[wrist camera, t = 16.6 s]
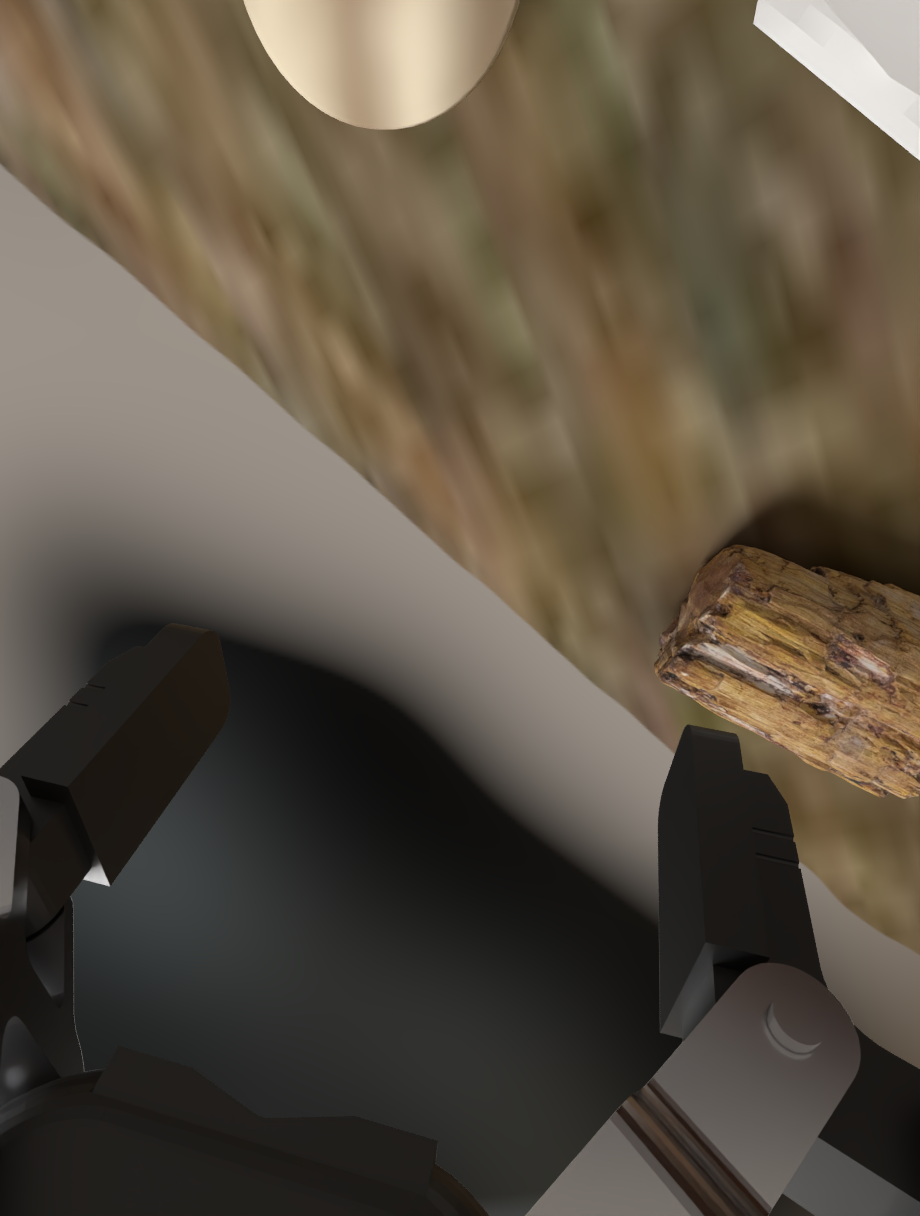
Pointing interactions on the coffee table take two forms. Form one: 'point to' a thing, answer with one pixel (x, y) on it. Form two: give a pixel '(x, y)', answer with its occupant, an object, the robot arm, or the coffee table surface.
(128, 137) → the coffee table surface
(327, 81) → the lid
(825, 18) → the heart sculpture
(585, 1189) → the robot arm
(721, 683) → the petrified wood
